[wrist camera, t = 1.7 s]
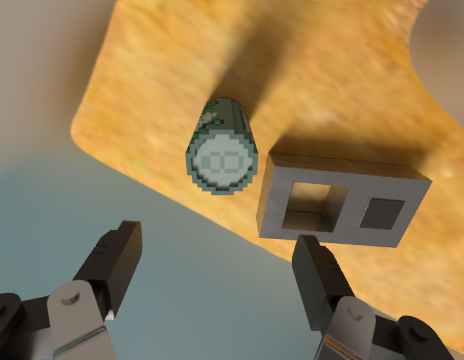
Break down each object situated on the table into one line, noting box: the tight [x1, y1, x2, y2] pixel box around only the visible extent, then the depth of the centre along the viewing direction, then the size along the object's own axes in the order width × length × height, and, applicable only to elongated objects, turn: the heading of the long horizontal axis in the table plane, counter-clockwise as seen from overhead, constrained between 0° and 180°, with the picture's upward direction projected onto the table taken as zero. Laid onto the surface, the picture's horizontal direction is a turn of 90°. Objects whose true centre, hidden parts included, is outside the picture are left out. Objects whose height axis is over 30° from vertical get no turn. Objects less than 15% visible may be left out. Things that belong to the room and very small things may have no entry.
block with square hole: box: [256, 152, 432, 248], centre depth 38 cm, size 12×22×5 cm, turn 84°
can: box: [185, 98, 258, 195], centre depth 28 cm, size 6×6×15 cm
